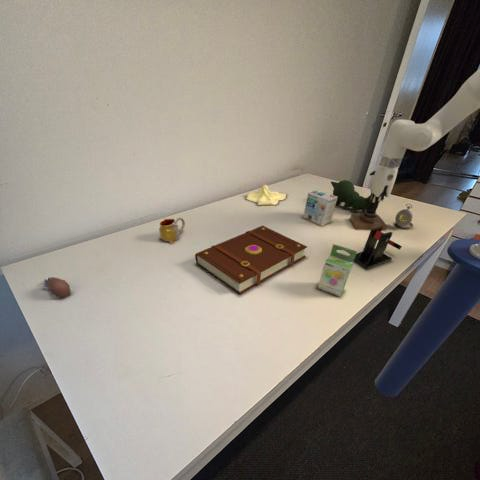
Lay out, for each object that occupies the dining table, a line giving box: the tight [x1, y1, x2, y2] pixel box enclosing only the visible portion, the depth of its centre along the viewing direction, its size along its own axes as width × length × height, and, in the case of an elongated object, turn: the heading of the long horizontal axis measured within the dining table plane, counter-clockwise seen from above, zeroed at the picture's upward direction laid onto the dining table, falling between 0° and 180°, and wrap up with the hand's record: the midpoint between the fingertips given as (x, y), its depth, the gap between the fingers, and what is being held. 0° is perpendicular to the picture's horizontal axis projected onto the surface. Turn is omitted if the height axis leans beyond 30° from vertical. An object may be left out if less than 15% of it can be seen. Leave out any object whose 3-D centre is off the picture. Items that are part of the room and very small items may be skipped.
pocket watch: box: [394, 203, 415, 230], centre depth 109 cm, size 8×8×10 cm
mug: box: [158, 217, 186, 244], centre depth 100 cm, size 12×7×7 cm, turn 144°
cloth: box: [245, 184, 287, 206], centre depth 131 cm, size 22×19×6 cm
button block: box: [349, 212, 387, 231], centre depth 112 cm, size 12×10×4 cm
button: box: [365, 211, 377, 218], centre depth 110 cm, size 4×4×2 cm
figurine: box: [40, 276, 71, 299], centre depth 76 cm, size 6×5×12 cm
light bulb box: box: [303, 189, 338, 227], centre depth 112 cm, size 11×7×11 cm, turn 40°
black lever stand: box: [353, 227, 394, 271], centre depth 89 cm, size 12×8×11 cm, turn 118°
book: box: [194, 225, 308, 295], centre depth 89 cm, size 23×32×5 cm
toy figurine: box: [330, 170, 376, 214], centre depth 119 cm, size 9×19×25 cm
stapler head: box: [373, 231, 403, 251], centre depth 90 cm, size 13×6×2 cm, turn 119°
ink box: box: [317, 244, 358, 297], centre depth 75 cm, size 7×4×13 cm, turn 56°
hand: (370, 211), depth 109 cm, fingers closed
